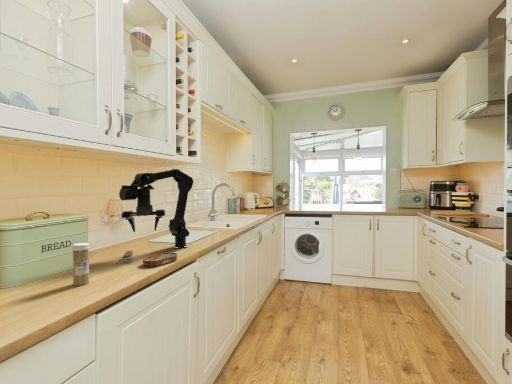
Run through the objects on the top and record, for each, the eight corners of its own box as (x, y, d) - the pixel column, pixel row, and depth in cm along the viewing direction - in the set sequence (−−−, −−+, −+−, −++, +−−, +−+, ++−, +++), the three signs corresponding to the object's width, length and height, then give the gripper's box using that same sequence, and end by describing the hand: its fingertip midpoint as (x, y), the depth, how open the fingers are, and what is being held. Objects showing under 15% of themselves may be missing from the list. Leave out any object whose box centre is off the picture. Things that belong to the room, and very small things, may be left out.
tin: (169, 251, 117) (181, 252, 112) (169, 258, 117) (181, 259, 112) (138, 258, 105) (150, 260, 100) (138, 266, 105) (150, 268, 100)
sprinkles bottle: (81, 286, 82) (80, 245, 82) (69, 285, 82) (68, 245, 82) (92, 281, 86) (92, 242, 86) (80, 280, 87) (80, 242, 87)
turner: (124, 255, 123) (124, 250, 123) (135, 254, 124) (135, 250, 124) (117, 264, 107) (116, 259, 107) (129, 263, 109) (129, 258, 109)
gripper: (118, 200, 111) (119, 236, 111) (163, 199, 116) (164, 232, 116) (123, 199, 121) (124, 231, 122) (164, 198, 127) (165, 229, 127)
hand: (144, 231), depth 121 cm, fingers open, 9 cm apart
